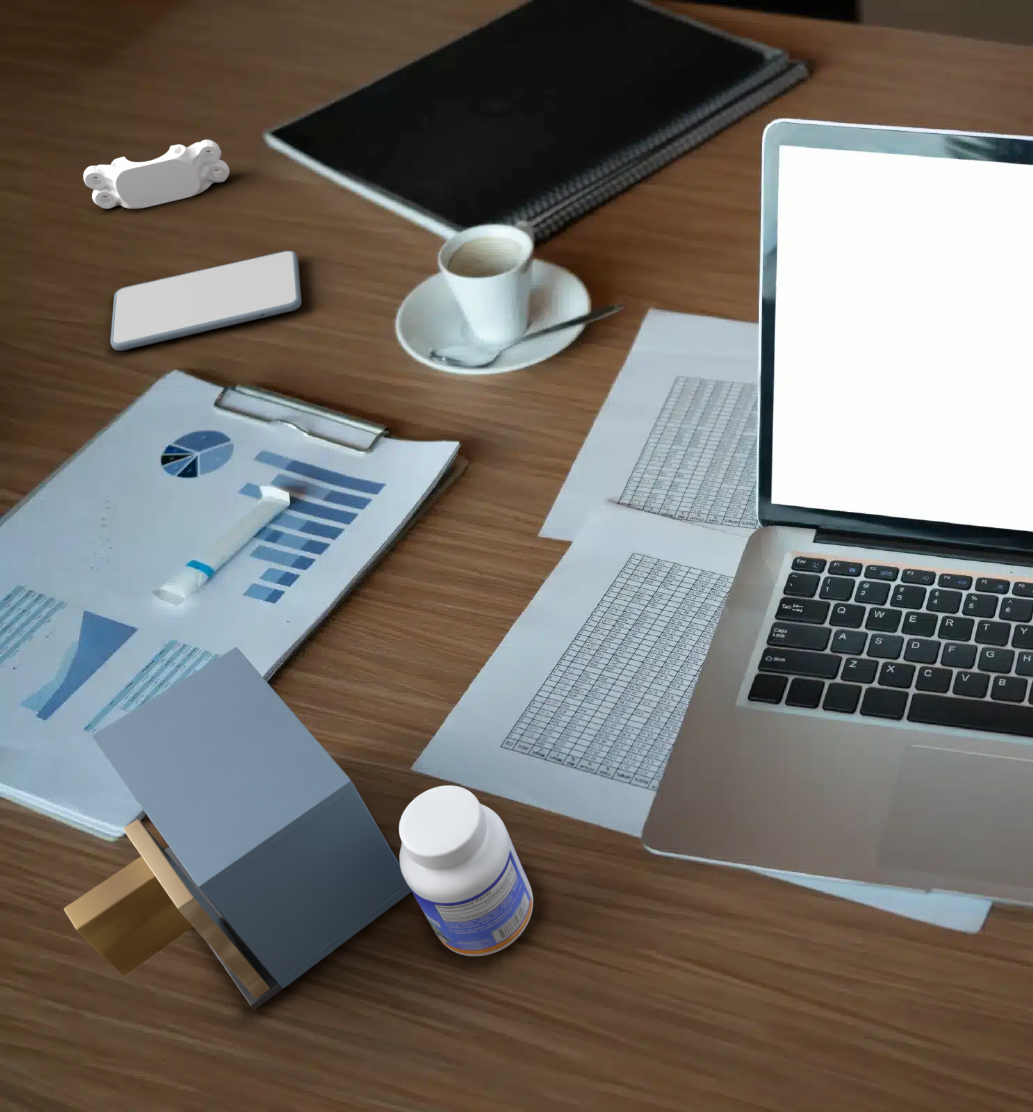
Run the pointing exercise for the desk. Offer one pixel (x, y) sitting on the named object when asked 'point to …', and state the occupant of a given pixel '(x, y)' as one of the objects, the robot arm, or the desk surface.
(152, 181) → the curved bracket
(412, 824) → the pill bottle
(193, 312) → the smartphone
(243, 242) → the desk surface
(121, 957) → the tan piece
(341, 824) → the grey-blue hollow box
